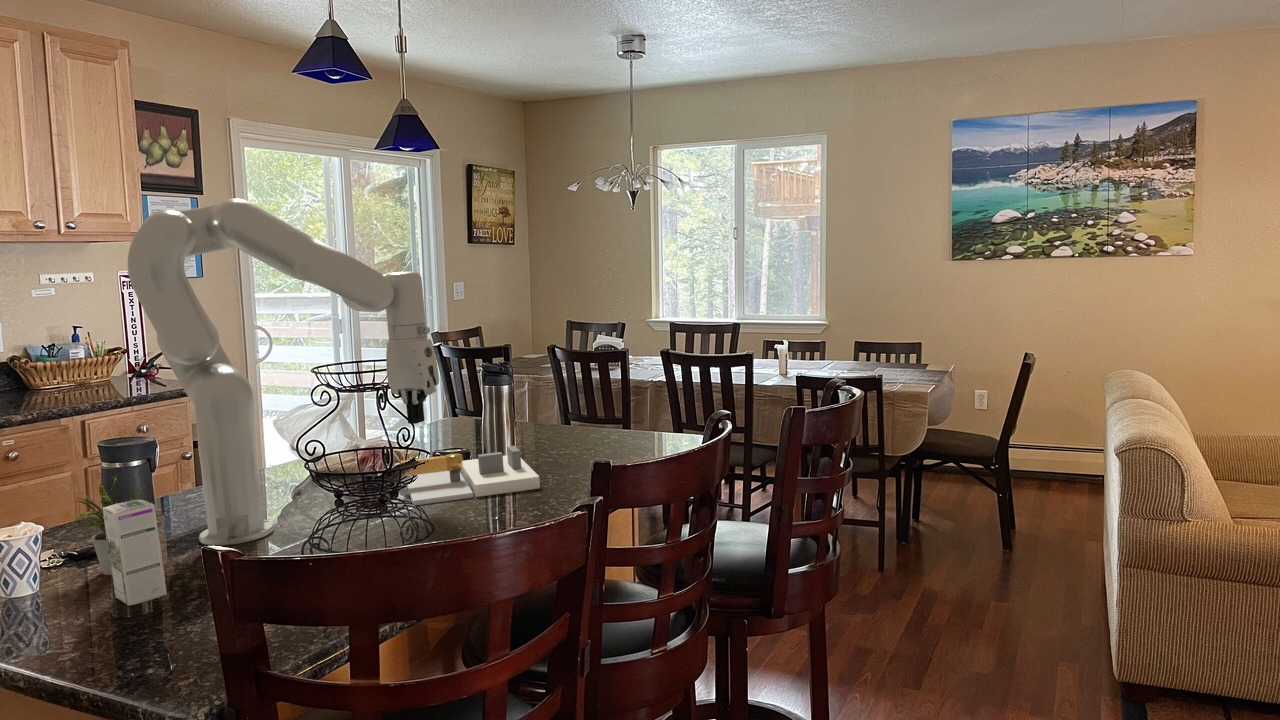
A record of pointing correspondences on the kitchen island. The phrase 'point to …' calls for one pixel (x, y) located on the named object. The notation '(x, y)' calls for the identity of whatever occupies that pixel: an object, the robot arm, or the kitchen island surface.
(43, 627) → the kitchen island surface
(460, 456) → the latch bar
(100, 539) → the house plant
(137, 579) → the syrup box
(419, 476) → the door mock-up
